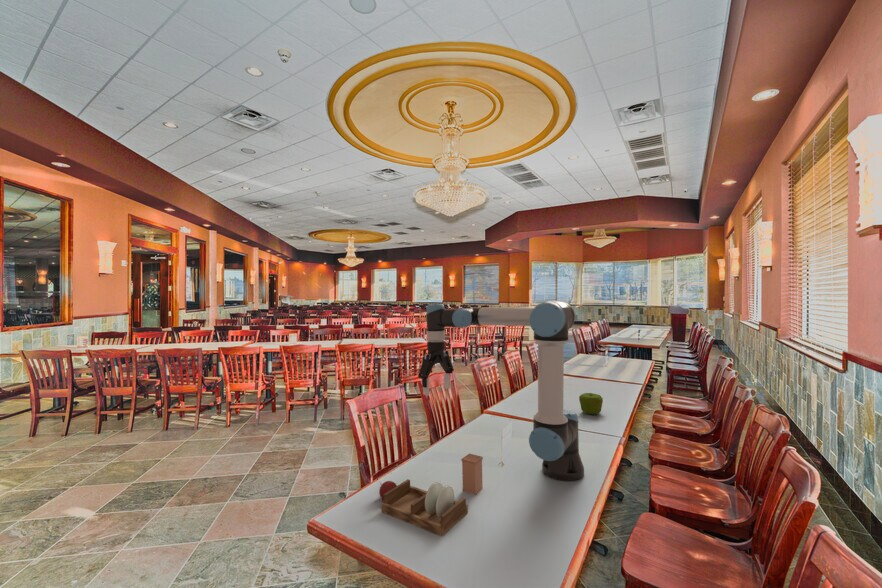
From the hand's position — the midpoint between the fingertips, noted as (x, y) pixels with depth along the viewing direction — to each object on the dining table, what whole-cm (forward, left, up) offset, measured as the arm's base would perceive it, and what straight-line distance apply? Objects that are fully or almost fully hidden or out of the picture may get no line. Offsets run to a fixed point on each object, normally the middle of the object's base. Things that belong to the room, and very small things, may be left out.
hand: (437, 391), depth 162 cm
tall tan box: (-26, +16, -27) cm, 41 cm away
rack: (-20, +36, -27) cm, 50 cm away
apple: (-39, -95, -28) cm, 106 cm away
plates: (-26, +36, -26) cm, 52 cm away
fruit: (-4, +36, -28) cm, 45 cm away
